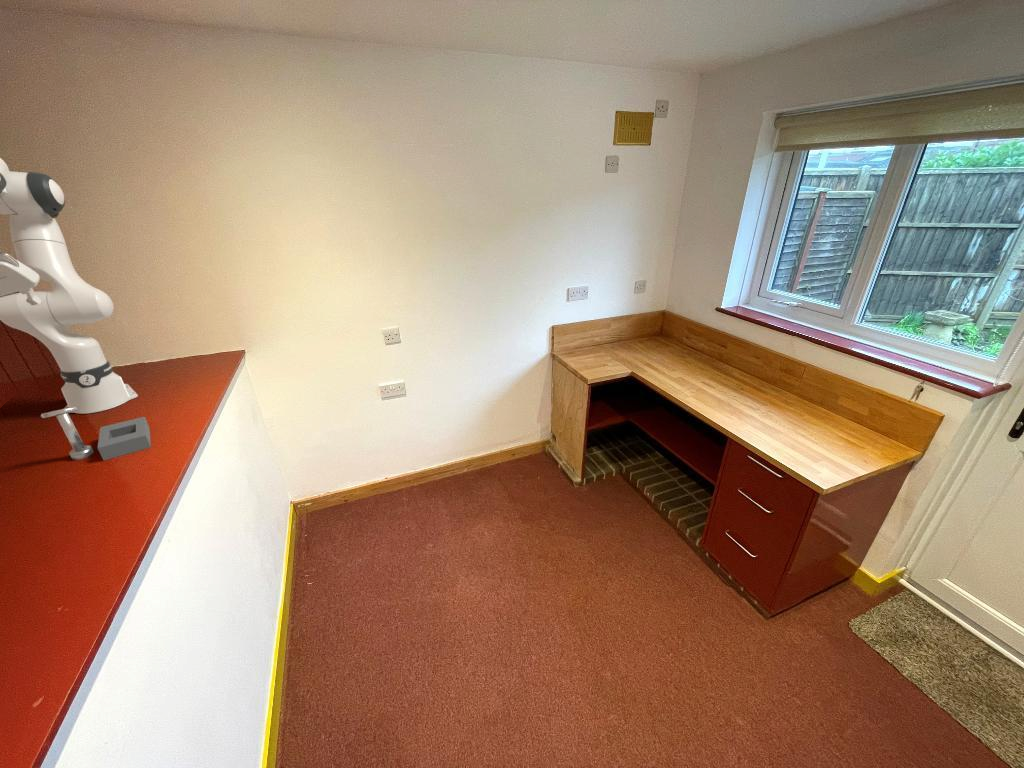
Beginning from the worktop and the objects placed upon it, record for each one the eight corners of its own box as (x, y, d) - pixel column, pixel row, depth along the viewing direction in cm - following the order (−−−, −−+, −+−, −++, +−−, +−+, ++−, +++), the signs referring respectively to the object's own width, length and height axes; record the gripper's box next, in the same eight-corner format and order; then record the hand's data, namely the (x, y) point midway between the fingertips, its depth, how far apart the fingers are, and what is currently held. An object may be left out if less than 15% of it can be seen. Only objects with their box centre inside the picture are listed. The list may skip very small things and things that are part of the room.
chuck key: (65, 456, 114) (41, 411, 108) (98, 448, 117) (76, 403, 112) (63, 463, 111) (38, 417, 105) (97, 454, 114) (74, 409, 108)
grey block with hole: (105, 439, 122) (100, 427, 120) (149, 427, 127) (144, 416, 126) (103, 460, 112) (97, 448, 110) (150, 447, 118) (145, 435, 116)
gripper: (5, 241, 92) (66, 288, 103) (-97, 267, 90) (-24, 312, 101) (-5, 257, 89) (58, 304, 100) (-112, 285, 86) (-35, 330, 97)
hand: (16, 308), depth 100 cm, fingers open, 8 cm apart
